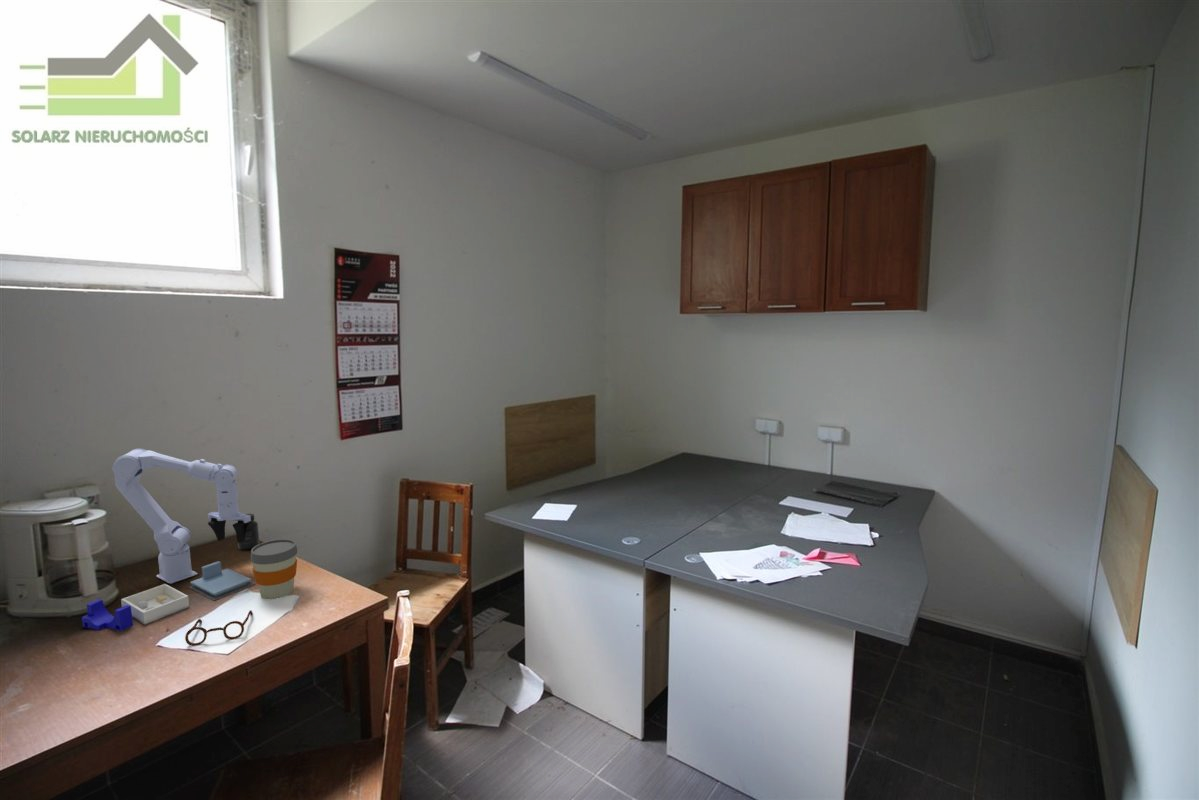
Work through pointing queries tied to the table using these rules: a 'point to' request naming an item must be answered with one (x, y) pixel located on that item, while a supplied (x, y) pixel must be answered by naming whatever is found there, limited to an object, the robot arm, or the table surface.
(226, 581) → the lid
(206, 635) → the glasses
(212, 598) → the mat
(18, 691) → the table surface
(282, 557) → the reusable coffee cup
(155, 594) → the tub
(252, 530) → the supplement bottle
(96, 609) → the cable clip
